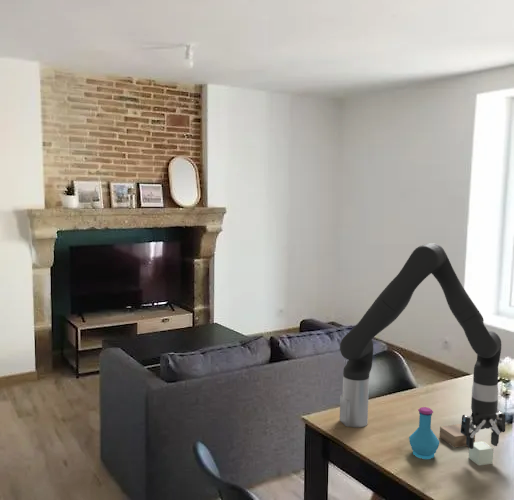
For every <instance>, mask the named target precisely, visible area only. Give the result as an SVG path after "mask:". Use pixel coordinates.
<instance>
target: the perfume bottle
mask: <svg viewBox="0 0 514 500" xmlns="http://www.w3.org/2000/svg"><path fill="white" fill-rule="evenodd" d="M417 410H418V411H417V412H418V414H419V421H418V427H417V429H416V430H415V431H414V432H412V434H411V435H410V436H409V438H408V440H409V445H410V447H411V448H410V449H411V450H412V454H413V456H414V455H415V456H414V457H416V458H417V459H421V458H422V460H431V458H432V459H434V457H435V454H436V453H437V450H438V448H439V446H440V440H439V439H438V437H437V436H436V434H435V433H434V432H433V430H432V427H431V426H432V416H433V414H434V410H433V409H432V408H430V407H426V406H423V407H420V408H419V409H417Z"/></svg>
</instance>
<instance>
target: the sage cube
mask: <svg viewBox="0 0 514 500" xmlns="http://www.w3.org/2000/svg"><path fill="white" fill-rule="evenodd" d="M468 459H469V460H471V461H472V462H473V463H475V464H476V465H477V466H484V465H486V466H487V465H491V464H493V461H494V448H493V447H492V445H491V446H490V445H489V444H488V443H486V441H475V442H474V447H473V449H470V448H469V447H468Z"/></svg>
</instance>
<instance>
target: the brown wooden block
mask: <svg viewBox="0 0 514 500" xmlns="http://www.w3.org/2000/svg"><path fill="white" fill-rule="evenodd" d="M472 431H473V430H472ZM472 431H471V432H472ZM439 438H440V439H442V440H443V441H445V442H446V443H447V444H449V445H450V446H452V447H453V448H459V447H460V448H461V447H468V446H467V445H466V436H465V435H463V434H462V433H461V423H457V424H451V425H443V426H442V425H441V426H439ZM473 438H474V442H476V434H475V435H474V437H473Z"/></svg>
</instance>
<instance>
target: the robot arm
mask: <svg viewBox="0 0 514 500" xmlns="http://www.w3.org/2000/svg"><path fill="white" fill-rule="evenodd" d="M430 275H432V276H433V277H434V279H436V280H437V283H438V284H439V285H440V287H441V289H442V292H443V294H444V298H445V300H446V303H447V306H448V308H449V309H450V311H451V313H452V315H453V316H454V318H455V319H456V321H457V322H458V324H459V326H460V327H461V328H462V330H463V331H464V335H465V336H466V339H467V341H468V343H469V345H470V347H471V348H472V350H473V352H474V353H475V354H476V362H475V364H474V367H473V380H472V386H471V400H470V401H471V403H470V405H471V406H470V409H471V414H470V415H466V414H462V415H461V423H460V424H461V433H462V434H463V435H465V436H466V445H467V446H466V447H467V448H468V449H469V448H470V449H473V447H474V438H473V437H474V435H475V436H476V434H477V433H479V432H480V430H484V429H490V430H491V433H490V434H491V435H490V436H491V437H490V444H491V446H494V447H497V446H498V444H499V439H500V435H501V433H505V432H506V413H503V412H502V411H500V410H498V404H499V403H498V402H499V400H498V399H499V385H498V383H499V363H500V361H501V360H500V359H501V355H502V354H501V353H502V340H501V338H500V336H499V335H498V334H497V333H496V332H495V331H491V330H488V329H487V327H486V325H485V322H484V318H483V315H482V314H481V312H480V311H479V309H478V308H477V306H476V305H475V303H474V302H473V301H472V299H471V297H470V295H469V294H468V293H467V291H466V290H465V288H464V286H463V284H462V283H461V281H460V279H459V277H458V275H457V274H456V271H455V270H454V268H453V266H452V264H451V262H450V259H449V257H448V255H447V253H446V250H445V249H444V248H443V247H442V246H441V245H440V244H438V243H436V242H429V243H425V244H424V243H423V244H422V245H419V246H418V247H417V246H416V248H415V249H414V250H413V251H412V252H411V254H410V255H409V257H408V259H407V260H406V261H405V264H404V265H403V267H402V268H401V269H400V271H399V272H398V273H397V275H396V276H395V277H394V278H393V279H392V280H391V281H390V282H389V283H388V285H386V286H385V288H384V289H383V290H382V292H381V293H380V294H379V295H378V296H377V297H376V299H374V302H373V303H372V304H371V306H370V307H369V308H368V310H367V311H365V313H364V314H363V316H362V318H361V319H360V320H359V321H358V323H356V325H355V326H354V327H352V329H351V330H350V331H348V333H346V335H344V336H343V338H341V341H340V344H339V351H340V354H341V355H342V357H343V358H344V359H346V360H348V361H347V363H346V364H345V366H344V367H343V371H342V394H340V397H339V398H340V399H339V421H340V422H341V423H342V424H343V425H344V426H345V427H346V428H348V427H351V428H364V427H366V426H367V425H368V420H369V396H370V395H369V391H370V373H371V371H372V368H373V360H374V359H373V358H374V342H373V339H374V338H375V337H376V336H377V335H378V334H379V333H381V332H382V331H383V330H385V329H386V328H387V327H389V326H390V325H391V324H392V323H393V322H395V320H397V319H398V317H399V316H400V315H401V314H402V313H403V312H404V311H405V309H406V308H407V306H408V305H409V303H410V301H411V299H412V296H413V295H414V292H415V290H416V289H417V288H418V287H419V286H420V285H421V284H422V282H423V281H424V280H426V279H427V277H429V276H430ZM495 421H496V422H495ZM471 431H472V432H471Z"/></svg>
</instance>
